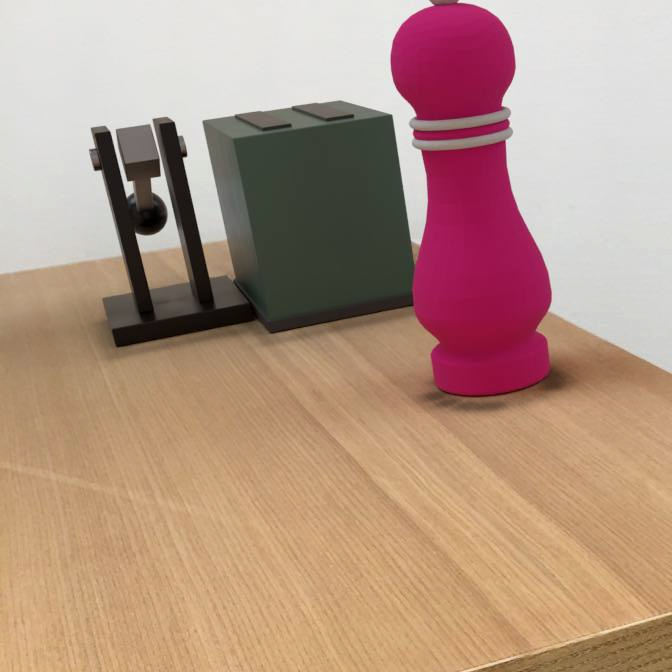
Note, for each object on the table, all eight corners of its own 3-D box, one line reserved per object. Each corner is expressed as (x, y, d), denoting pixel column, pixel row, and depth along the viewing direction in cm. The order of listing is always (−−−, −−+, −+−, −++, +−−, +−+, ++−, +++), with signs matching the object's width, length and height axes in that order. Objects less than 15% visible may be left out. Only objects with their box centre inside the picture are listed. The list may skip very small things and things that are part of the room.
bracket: (105, 314, 88) (57, 128, 82) (231, 290, 90) (192, 109, 85) (116, 347, 79) (62, 142, 74) (254, 320, 82) (212, 120, 76)
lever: (129, 245, 91) (118, 204, 91) (173, 238, 92) (162, 197, 92) (118, 171, 78) (105, 124, 78) (169, 163, 79) (156, 116, 79)
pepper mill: (398, 391, 65) (331, -21, 56) (479, 350, 70) (430, -33, 62) (507, 406, 61) (453, -34, 52) (585, 362, 66) (548, -46, 58)
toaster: (234, 289, 91) (197, 117, 85) (370, 264, 94) (342, 96, 88) (269, 333, 78) (229, 135, 73) (424, 302, 81) (396, 110, 76)
